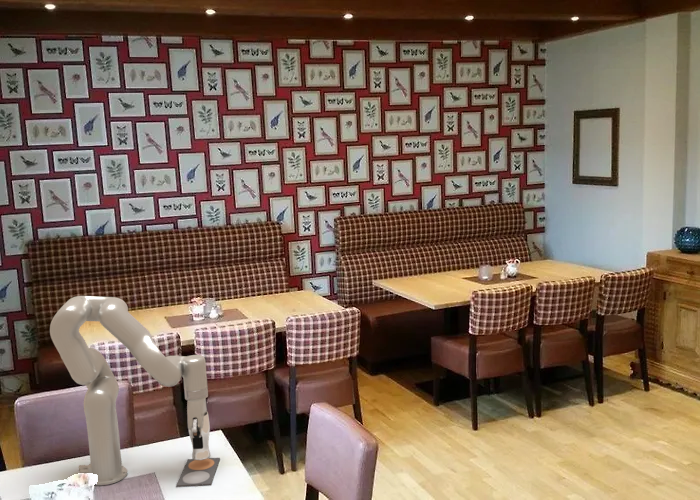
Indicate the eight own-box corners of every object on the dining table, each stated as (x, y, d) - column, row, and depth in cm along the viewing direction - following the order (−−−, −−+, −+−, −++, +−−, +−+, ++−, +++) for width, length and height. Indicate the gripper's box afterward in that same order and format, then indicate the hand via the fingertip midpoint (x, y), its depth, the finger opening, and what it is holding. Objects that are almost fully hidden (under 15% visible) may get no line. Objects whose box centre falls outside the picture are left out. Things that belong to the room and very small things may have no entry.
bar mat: (176, 487, 225) (176, 484, 225) (187, 460, 244) (187, 458, 244) (211, 485, 225) (210, 483, 225) (220, 459, 244) (219, 457, 244)
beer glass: (206, 461, 235) (203, 418, 233) (187, 460, 236) (183, 417, 234) (215, 452, 242) (211, 410, 240) (195, 451, 243) (192, 409, 241)
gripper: (189, 384, 244) (193, 434, 247) (179, 402, 227) (183, 455, 230) (211, 383, 244) (215, 433, 247) (203, 401, 227) (207, 454, 230)
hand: (200, 443), depth 238 cm, fingers closed on beer glass, 6 cm apart
